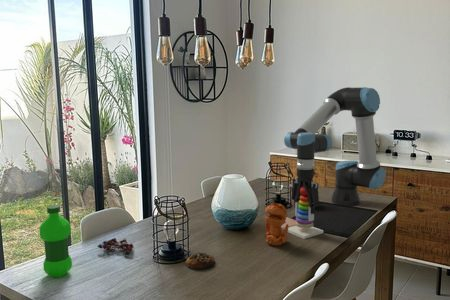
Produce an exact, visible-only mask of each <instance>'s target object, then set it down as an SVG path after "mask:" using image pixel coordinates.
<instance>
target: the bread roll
mask: <svg viewBox="0 0 450 300" xmlns="http://www.w3.org/2000/svg"><path fill="white" fill-rule="evenodd" d="M185 264H186V266H187V267H188V268H190V269H194V270H207V268H208V269H211V268H212V267H213V266H215V265H214V264H215V258H214V256H213V255H212V254H209V253H206V252H203V251H202V252H198V253H194V254H191V255H190V256H188V257H187V259H186V261H185Z"/></svg>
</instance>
